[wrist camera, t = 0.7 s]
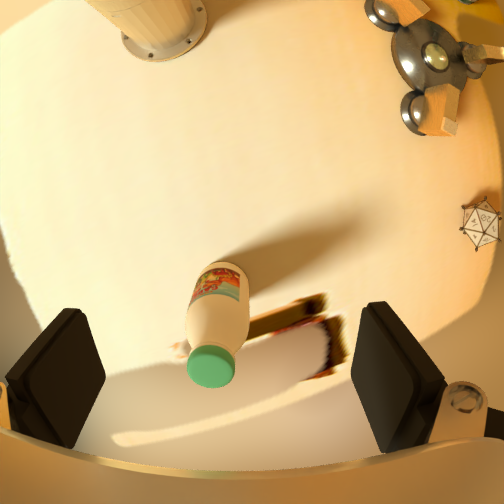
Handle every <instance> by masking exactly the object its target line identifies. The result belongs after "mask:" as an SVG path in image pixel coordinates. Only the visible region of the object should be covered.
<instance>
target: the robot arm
mask: <svg viewBox="0 0 504 504" xmlns="http://www.w3.org/2000/svg"><path fill="white" fill-rule="evenodd" d="M85 1H86V2H87V3H89V4H90V5H91V6H92V7H94V8H95V9H96V10H97V11H99V12H100V13H101V14H102V15H103V16H105V17H106V18H107V19H108V20H109V21H111V22H112V23H113V24H114V25H115V26H116V27H118V28H119V29H120V30H121V38H122V42H123V44H124V46H125V48H126V49H127V50H128V51H129V52H130V53H131V54H132V55H133V56H135V57H136V58H139V59H141V60H144V61H149V62H161V61H167V60H170V59H174V58H176V57H178V56H180V55H182V54H184V53H185V52H187V51H188V50H190V49H191V48H192V47H193V46H194V45H195V44H196V43H197V42H198V41H199V40H200V38H201V37H202V35H203V33H204V31H205V28H206V25H207V13H206V9H205V6H204V5H203V3H202V1H201V0H85ZM199 11H200V12H199ZM128 38H129V39H128ZM188 42H191V43H190V44H188ZM153 55H154V56H153ZM152 56H153V57H152ZM151 57H152V58H151ZM5 378H6V380H7V382H8V384H9V385H8V387H7V388H6V386H5V385H4V384H3V383H2V382H0V504H504V412H503V411H500V410H496V409H492V408H490V407H488V400H487V397H486V394H485V393H484V391H483V390H482V389H481V388H480V387H478V386H477V385H475V384H473V383H470V382H464V381H459V382H454V383H451V384H450V385H448V384H447V383H446V381H445V380H444V379H445V377H444V376H443V375H442V373H441V372H440V370H439V369H438V368H437V366H436V365H435V364H434V362H433V361H432V360H431V358H430V357H429V356H428V355H427V353H426V352H425V350H424V349H423V348H422V346H421V345H420V344H419V342H418V341H417V340H416V339H415V337H414V336H413V335H412V333H411V332H410V331H409V330H408V328H407V327H406V326H405V324H404V323H403V322H402V321H401V319H400V318H399V317H398V316H397V314H396V313H395V312H394V311H393V310H392V308H391V307H390V306H389V305H388V303H387V302H385V301H381V302H370V303H368V305H367V307H364V308H363V309H362V313H361V319H360V325H359V331H358V337H357V342H356V347H355V352H354V357H353V362H352V367H351V378H352V381H353V384H354V386H355V389H356V391H357V393H358V396H359V398H360V401H361V403H362V406H363V408H364V411H365V413H366V416H367V418H368V421H369V423H370V426H371V429H372V431H373V434H374V436H375V439H376V442H377V444H378V447H379V449H380V451H381V453H386V454H382V455H378V456H374V457H368V458H363V459H358V460H352V461H346V462H340V463H334V464H328V465H320V466H313V467H304V468H294V469H282V470H265V471H205V470H188V469H175V468H166V467H157V466H150V465H143V464H136V463H130V462H124V461H119V460H114V459H109V458H103V457H99V456H95V455H90V454H86V453H82V452H78V451H74V450H71V449H72V448H73V447H74V446H75V443H76V441H77V439H78V436H79V434H80V432H81V430H82V428H83V426H84V424H85V421H86V419H87V417H88V415H89V413H90V411H91V409H92V407H93V405H94V402H95V400H96V398H97V396H98V394H99V392H100V390H101V388H102V386H103V384H104V382H105V378H106V375H105V370H104V368H103V365H102V362H101V360H100V357H99V354H98V351H97V348H96V345H95V343H94V340H93V336H92V333H91V330H90V327H89V324H88V321H87V317H86V315H85V314H84V313H82V311H81V310H80V309H76V308H65V309H63V310H62V311H61V312H60V313H59V314H58V316H57V317H56V318H55V319H54V320H53V321H52V322H51V323H50V324H49V325H48V326H47V328H46V329H45V330H44V331H43V332H42V333H41V334H40V335H39V336H38V338H37V339H36V340H35V341H34V342H33V343H32V344H31V346H30V347H29V348H28V349H27V350H26V352H25V353H24V354H23V355H22V356H21V357H20V359H19V360H18V361H17V362H16V363H15V365H14V366H13V367H12V368H11V370H10V371H9V372H8V373H7V375H6V376H5Z"/></svg>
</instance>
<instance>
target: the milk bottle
mask: <svg viewBox="0 0 504 504" xmlns="http://www.w3.org/2000/svg"><path fill="white" fill-rule="evenodd" d="M249 318H250V315H249V284H248V279H247V277H246V275H245V273H244V272H243V271H242V270H241V269H240V268H239V267H237V266H236V265H234V264H231V263H228V262H217V263H213V264H211V265H209V266H207V267H206V268H205V269H204V270H203V271H202V272H201V273H200V275H199V277H198V280H197V283H196V286H195V289H194V292H193V294H192V298H191V301H190V304H189V307H188V311H187V315H186V321H185V330H186V335H187V339H188V341H189V343H190V345H191V347H192V350H191V351H190V354H189V359H188V362H187V372H188V375H189V376H190V378H191V379H192V380H193V381H194V382H195V383H197V384H199V385H201V386H204V387H207V388H218V387H222V386H225V385H227V384H228V383H229V382H230V381H231V380H232V378H233V376H234V373H235V356H234V355H235V353H236V352H237V351H238V350H239V349H240V348H241V347H242V345H243V344H244V342H245V340H246V338H247V335H248V330H249Z"/></svg>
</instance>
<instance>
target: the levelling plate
mask: <svg viewBox="0 0 504 504" xmlns="http://www.w3.org/2000/svg"><path fill="white" fill-rule="evenodd" d="M374 1H375V0H366V2H365V6H364V7H365V12H366V14H367V16H368V18H369V19H370V20H371V21H372V23H374V24H375V25H376V26H377V27H379V28H380V29H382V30H385V31H388V32H394V34H393V37H392V41H391V52H392V57H393V60H394V63H395V65H396V68H397V70H398V72H399V73H400V75H401V76H402V78H403V79H404V80H405V82H406V83H407V84H408V85H409V86H410V87H411V88H412V89H413V90H414V91H411V92H409V93H407V94H406V95H405V96H404V97H403V99H402V102H401V116H402V119H403V121H404V123H405V125H406V126H407V127H408V129H409V130H410V131H412V132H413V133H415V134H417V135H421V136H425V135H426V134H424V133H422V132H420V131H418V127H416V126H415V125H414V124H413V123H412V121H411V120H410V118H409V115H408V105H409V102H410V101H411V99H413V98H414V97H417V96H422V95H425V89H426V88H430V87H434V86H438V85H442V84H447V83H449V84H451V85H452V86H454V87H455V88H457V89H459V90H460V93H461V91H462V90H463V88H464V86H465V84H466V79H467V77H469V78H471V79H478V78H480V77H481V75H482V73H483V72H480V73H471V72H470V71H468V70H467V67H466V63H465V60H464V57H463V55H462V52H461V48H462V47H464V46H467V45H470V44H469V43H467V42H458V43H456V41H455V40H454V38H453V37H452V36H451V35H450V34H449V33H448V32H447V31H446V30H445V29H443V28H442V27H441V26H439V25H438V24H436V23H434V22H432V21H429V20H426V19H420V18H418V19H417V20H415V21H414V22H412V23H411V24H409V25H408V26H406V27H403V26H402V25H401V24H400V23H399V24H398V25H395V26H391V25H387V24H384V23H383V22H381V21H380V20H379V19H377V17H376V16H375V15H374V13H373V11H372V3H373V2H374Z"/></svg>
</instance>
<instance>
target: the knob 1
mask: <svg viewBox="0 0 504 504" xmlns="http://www.w3.org/2000/svg"><path fill="white" fill-rule="evenodd" d="M459 95H460V90H459V89H457V88H455V87H454V86H452V85H451V84H449V83H447V84H442V85H438V86H434V87H430V88H426V89H425V95H422V96H417V97H414V98H413V99H411V101H410V102H409V105H408V115H409V118H410V120H411V121H412V123H413V124H414V125H415V126H416V127H418V131H420V132H422V133H424V134H426V135H428V136H456V131H457V125H458V124H457V123H455V121H456V115H457V109H458V102H459Z"/></svg>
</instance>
